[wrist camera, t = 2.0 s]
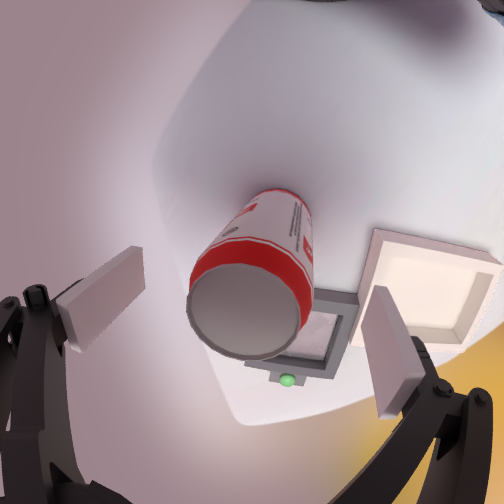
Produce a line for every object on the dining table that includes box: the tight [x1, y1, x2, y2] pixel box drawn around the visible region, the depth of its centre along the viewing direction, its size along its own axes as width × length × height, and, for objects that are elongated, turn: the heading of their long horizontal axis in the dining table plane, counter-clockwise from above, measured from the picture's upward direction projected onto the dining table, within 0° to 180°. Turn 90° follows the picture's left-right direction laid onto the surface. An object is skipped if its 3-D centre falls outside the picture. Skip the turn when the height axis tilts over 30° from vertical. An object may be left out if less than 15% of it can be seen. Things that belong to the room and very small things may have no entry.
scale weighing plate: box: [281, 311, 337, 360], centre depth 30 cm, size 7×7×1 cm
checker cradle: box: [244, 288, 360, 387], centre depth 30 cm, size 13×11×2 cm
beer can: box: [186, 189, 314, 361], centre depth 19 cm, size 6×6×16 cm
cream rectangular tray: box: [349, 228, 504, 353], centre depth 25 cm, size 11×15×4 cm
